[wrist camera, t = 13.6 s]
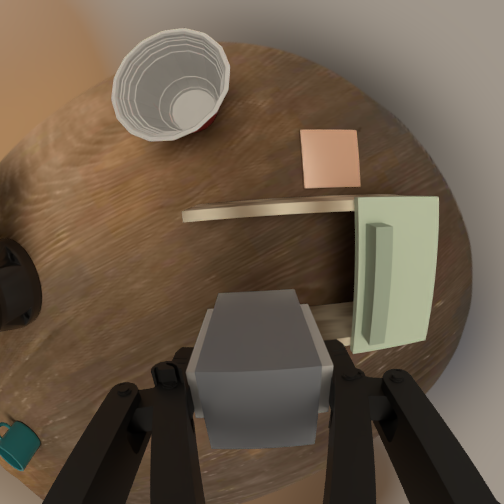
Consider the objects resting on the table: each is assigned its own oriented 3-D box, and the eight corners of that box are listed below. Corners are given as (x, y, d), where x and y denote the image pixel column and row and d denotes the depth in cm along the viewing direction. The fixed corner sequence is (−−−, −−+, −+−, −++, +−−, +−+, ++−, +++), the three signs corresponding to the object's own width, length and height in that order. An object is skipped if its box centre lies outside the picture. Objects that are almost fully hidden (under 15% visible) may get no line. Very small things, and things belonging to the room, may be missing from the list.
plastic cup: (136, 103, 32) (91, 75, 20) (209, 57, 30) (192, 8, 19) (176, 171, 34) (140, 166, 22) (254, 124, 33) (255, 95, 21)
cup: (13, 408, 45) (-9, 434, 34) (46, 443, 47) (28, 471, 36) (3, 414, 46) (-17, 437, 35) (33, 446, 48) (16, 471, 37)
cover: (350, 348, 29) (359, 366, 25) (354, 196, 25) (368, 199, 22) (421, 335, 29) (435, 350, 25) (433, 196, 25) (452, 198, 22)
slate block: (225, 356, 19) (211, 448, 11) (218, 293, 18) (194, 372, 10) (294, 352, 18) (314, 443, 11) (294, 289, 17) (322, 365, 10)
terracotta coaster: (303, 188, 34) (304, 188, 34) (299, 130, 33) (300, 129, 32) (358, 186, 34) (360, 186, 34) (354, 131, 33) (356, 130, 32)
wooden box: (212, 320, 38) (202, 357, 29) (199, 204, 35) (181, 211, 26) (387, 303, 38) (416, 333, 29) (390, 194, 34) (427, 198, 26)
